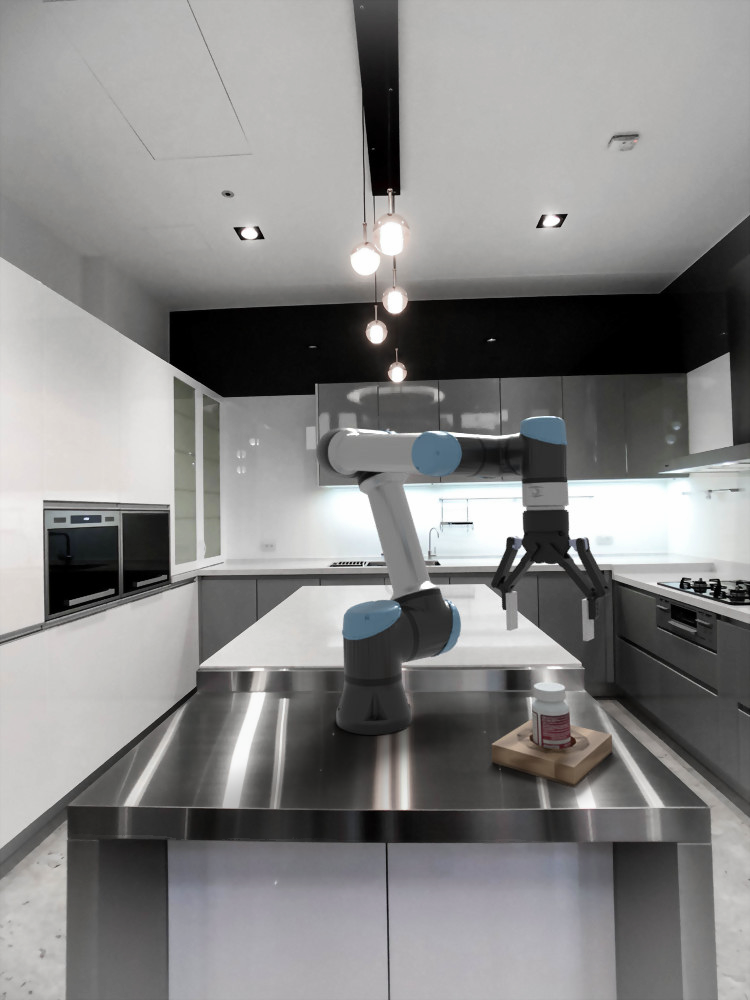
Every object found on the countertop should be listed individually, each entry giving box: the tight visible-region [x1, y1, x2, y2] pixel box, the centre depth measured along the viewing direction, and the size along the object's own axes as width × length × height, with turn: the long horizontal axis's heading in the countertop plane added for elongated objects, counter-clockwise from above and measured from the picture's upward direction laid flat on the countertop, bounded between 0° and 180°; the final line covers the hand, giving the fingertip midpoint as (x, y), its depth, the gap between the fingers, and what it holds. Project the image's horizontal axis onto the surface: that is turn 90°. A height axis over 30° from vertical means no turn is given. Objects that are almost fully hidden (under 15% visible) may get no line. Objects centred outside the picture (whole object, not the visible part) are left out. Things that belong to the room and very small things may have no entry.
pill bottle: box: [531, 681, 571, 749], centre depth 97 cm, size 6×6×11 cm
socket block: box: [491, 718, 613, 788], centre depth 97 cm, size 14×16×3 cm
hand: (548, 634), depth 97 cm, fingers open, 13 cm apart
